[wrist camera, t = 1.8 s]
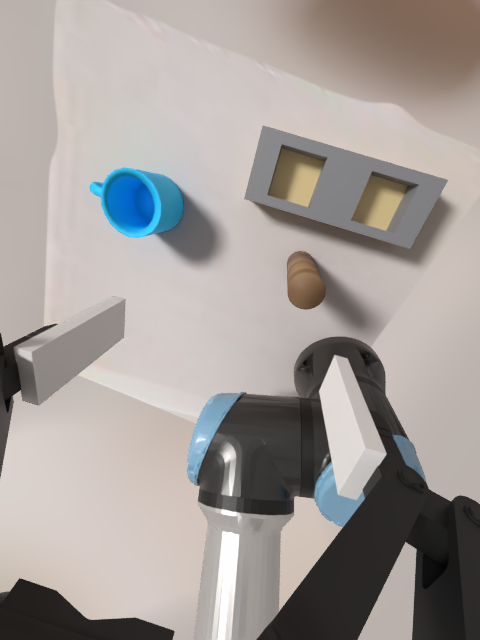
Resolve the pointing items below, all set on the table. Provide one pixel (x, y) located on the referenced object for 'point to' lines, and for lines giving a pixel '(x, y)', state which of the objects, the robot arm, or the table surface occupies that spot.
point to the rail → (341, 187)
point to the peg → (304, 281)
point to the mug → (139, 202)
